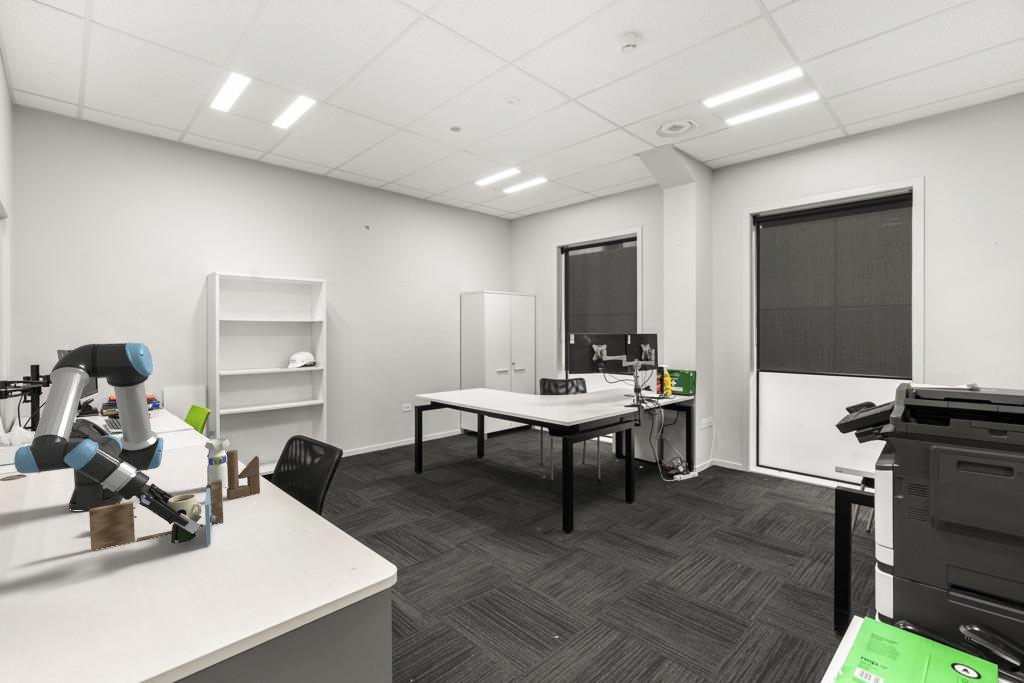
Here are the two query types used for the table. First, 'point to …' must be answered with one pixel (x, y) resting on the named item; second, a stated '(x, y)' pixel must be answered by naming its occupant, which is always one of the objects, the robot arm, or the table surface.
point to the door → (208, 516)
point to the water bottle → (217, 459)
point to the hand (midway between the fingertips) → (197, 524)
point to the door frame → (118, 520)
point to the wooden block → (242, 476)
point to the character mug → (188, 508)
